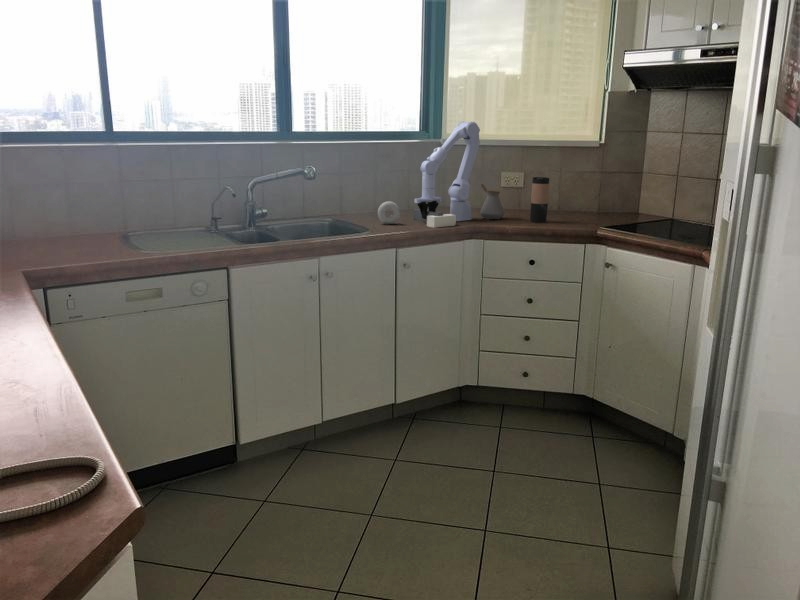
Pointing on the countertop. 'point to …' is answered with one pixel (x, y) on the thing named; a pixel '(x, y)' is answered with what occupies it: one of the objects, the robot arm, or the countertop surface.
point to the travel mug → (539, 199)
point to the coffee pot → (492, 205)
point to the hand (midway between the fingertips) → (427, 218)
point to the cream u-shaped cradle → (441, 220)
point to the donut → (395, 212)
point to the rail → (418, 215)
